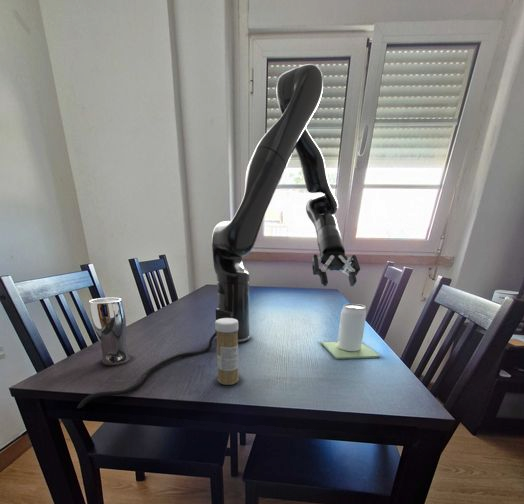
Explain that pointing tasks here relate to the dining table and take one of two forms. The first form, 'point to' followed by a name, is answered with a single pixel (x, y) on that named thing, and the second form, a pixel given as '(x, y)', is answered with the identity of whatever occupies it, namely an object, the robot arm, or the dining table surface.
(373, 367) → the dining table surface
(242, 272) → the robot arm
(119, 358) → the beer glass
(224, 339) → the sprinkles bottle
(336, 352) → the can mat
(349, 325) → the can
